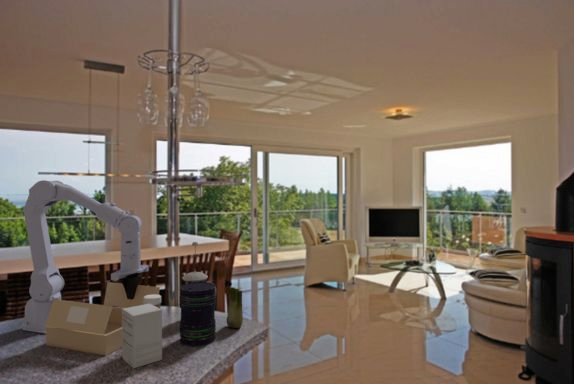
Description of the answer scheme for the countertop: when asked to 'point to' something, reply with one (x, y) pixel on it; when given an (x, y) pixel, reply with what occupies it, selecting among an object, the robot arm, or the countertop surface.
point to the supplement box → (141, 335)
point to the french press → (195, 274)
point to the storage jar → (197, 314)
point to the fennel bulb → (235, 308)
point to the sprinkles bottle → (152, 300)
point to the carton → (89, 337)
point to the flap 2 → (119, 299)
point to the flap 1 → (79, 316)
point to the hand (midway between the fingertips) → (130, 298)
